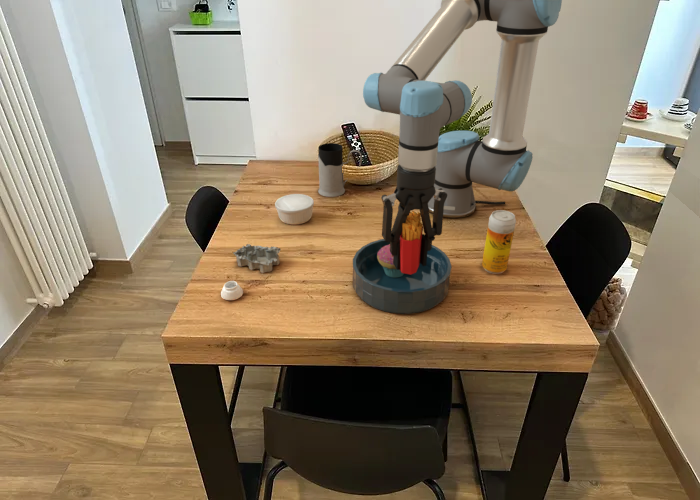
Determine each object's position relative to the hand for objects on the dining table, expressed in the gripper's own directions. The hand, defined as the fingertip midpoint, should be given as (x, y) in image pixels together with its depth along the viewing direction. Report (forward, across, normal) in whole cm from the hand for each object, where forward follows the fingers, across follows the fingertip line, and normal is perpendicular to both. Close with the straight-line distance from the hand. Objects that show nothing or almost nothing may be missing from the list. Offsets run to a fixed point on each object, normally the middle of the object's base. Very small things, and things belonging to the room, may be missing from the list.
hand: (409, 264), depth 109 cm
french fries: (0, 0, 0) cm, 0 cm away
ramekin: (+9, +19, -45) cm, 50 cm away
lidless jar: (+9, +39, -11) cm, 42 cm away
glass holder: (+9, +2, -60) cm, 61 cm away
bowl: (+9, 0, -5) cm, 11 cm away
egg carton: (+9, +32, -23) cm, 40 cm away
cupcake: (+9, 0, -10) cm, 13 cm away
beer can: (+9, -25, -6) cm, 27 cm away
